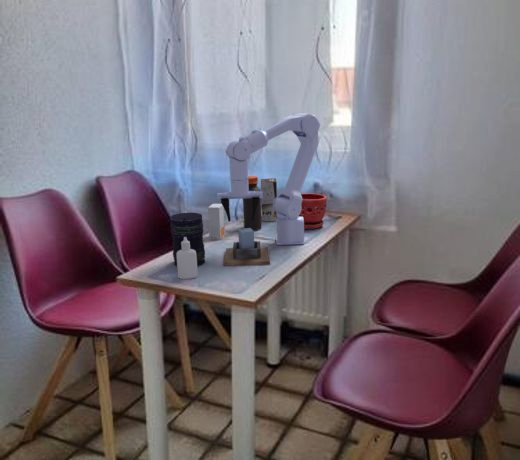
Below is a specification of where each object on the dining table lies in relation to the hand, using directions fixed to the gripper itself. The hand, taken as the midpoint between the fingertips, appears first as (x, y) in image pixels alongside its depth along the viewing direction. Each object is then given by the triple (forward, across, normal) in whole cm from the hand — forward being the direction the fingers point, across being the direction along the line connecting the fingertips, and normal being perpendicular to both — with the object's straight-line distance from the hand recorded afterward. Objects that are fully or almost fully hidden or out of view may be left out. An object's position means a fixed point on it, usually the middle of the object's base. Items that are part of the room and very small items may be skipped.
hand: (241, 220), depth 156 cm
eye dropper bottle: (+10, +16, +22) cm, 29 cm away
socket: (+10, -2, +7) cm, 13 cm away
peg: (+9, -2, +7) cm, 12 cm away
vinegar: (+11, -4, -26) cm, 28 cm away
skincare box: (+11, +9, -16) cm, 21 cm away
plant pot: (+11, -26, -26) cm, 38 cm away
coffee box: (+11, -11, -39) cm, 42 cm away
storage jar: (+10, +16, +10) cm, 22 cm away
